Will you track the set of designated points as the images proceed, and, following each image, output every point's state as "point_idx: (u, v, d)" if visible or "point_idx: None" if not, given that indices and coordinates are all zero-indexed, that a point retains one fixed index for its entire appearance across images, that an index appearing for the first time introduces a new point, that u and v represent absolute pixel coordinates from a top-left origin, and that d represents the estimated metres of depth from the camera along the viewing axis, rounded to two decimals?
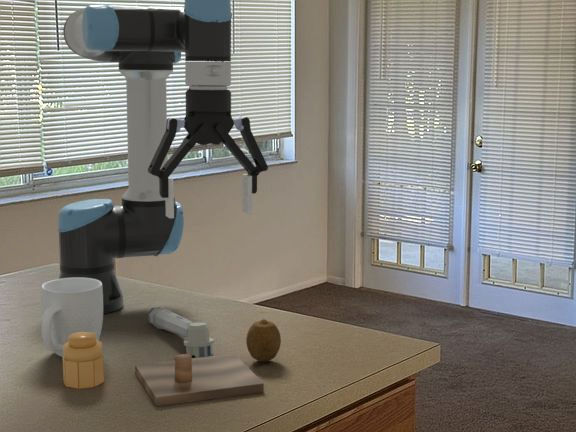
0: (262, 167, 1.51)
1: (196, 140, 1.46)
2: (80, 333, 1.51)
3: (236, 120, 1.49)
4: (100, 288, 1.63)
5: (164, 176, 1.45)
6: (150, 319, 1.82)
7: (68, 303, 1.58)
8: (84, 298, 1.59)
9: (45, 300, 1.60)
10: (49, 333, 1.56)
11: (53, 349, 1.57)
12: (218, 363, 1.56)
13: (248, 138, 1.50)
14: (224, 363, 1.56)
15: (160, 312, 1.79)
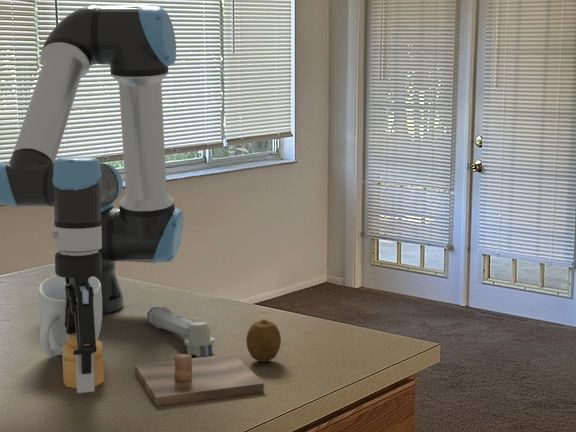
0: None
1: (66, 300, 1.49)
2: None
3: (80, 291, 1.42)
4: (99, 292, 1.60)
5: (66, 331, 1.54)
6: (149, 319, 1.82)
7: None
8: None
9: (42, 304, 1.58)
10: (47, 343, 1.54)
11: (52, 355, 1.57)
12: (218, 363, 1.56)
13: (77, 313, 1.41)
14: (224, 363, 1.56)
15: (159, 312, 1.79)
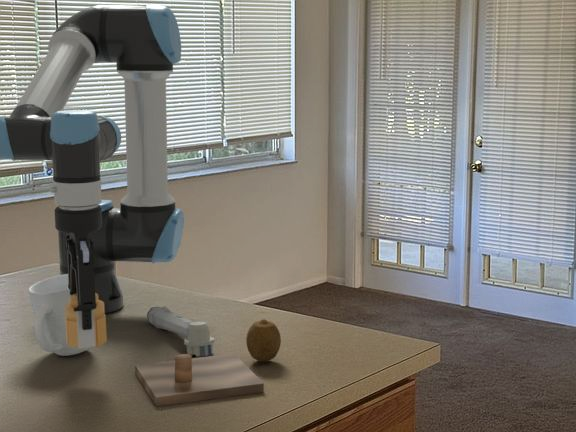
0: (79, 304, 1.43)
1: (68, 256, 1.48)
2: None
3: (81, 248, 1.42)
4: None
5: (70, 293, 1.52)
6: (149, 319, 1.82)
7: (57, 303, 1.57)
8: None
9: (34, 303, 1.59)
10: (43, 335, 1.55)
11: (50, 350, 1.57)
12: (218, 363, 1.56)
13: (77, 270, 1.42)
14: (224, 363, 1.56)
15: (159, 311, 1.79)
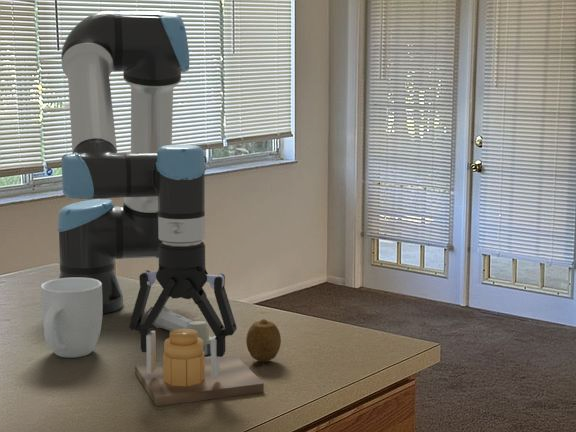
0: (227, 331, 1.44)
1: (166, 295, 1.44)
2: (174, 332, 1.47)
3: (210, 277, 1.43)
4: (100, 287, 1.63)
5: (142, 332, 1.46)
6: None
7: (70, 303, 1.58)
8: (86, 297, 1.59)
9: (45, 300, 1.60)
10: (52, 333, 1.55)
11: (55, 349, 1.57)
12: None
13: (217, 298, 1.43)
14: (224, 363, 1.56)
15: None
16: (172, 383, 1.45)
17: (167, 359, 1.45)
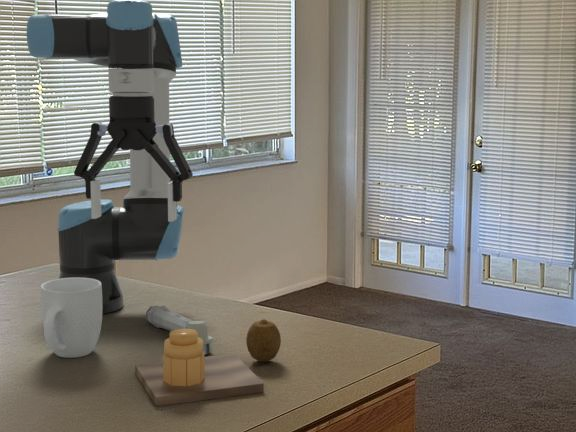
0: (183, 175, 1.49)
1: (114, 145, 1.50)
2: (174, 332, 1.47)
3: (158, 127, 1.49)
4: (100, 287, 1.63)
5: (86, 178, 1.52)
6: (148, 318, 1.83)
7: (70, 303, 1.58)
8: (86, 298, 1.59)
9: (45, 300, 1.60)
10: (52, 333, 1.55)
11: (55, 349, 1.57)
12: (218, 363, 1.56)
13: (168, 145, 1.49)
14: (224, 363, 1.56)
15: (158, 311, 1.80)
16: (172, 383, 1.45)
17: (167, 359, 1.45)
